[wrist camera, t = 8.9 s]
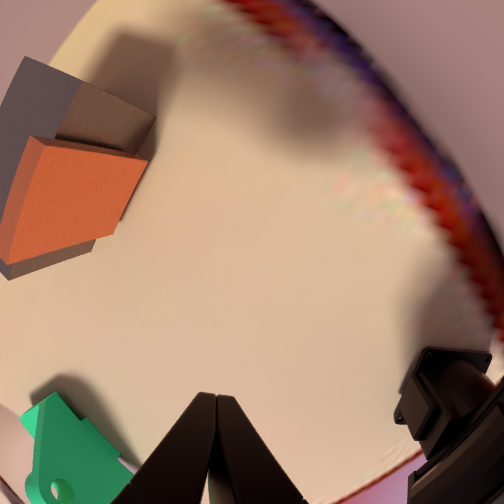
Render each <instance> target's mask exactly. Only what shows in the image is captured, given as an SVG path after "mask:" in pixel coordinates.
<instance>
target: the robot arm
mask: <svg viewBox="0 0 504 504" xmlns="http://www.w3.org/2000/svg"><path fill="white" fill-rule="evenodd" d="M429 352H431V353H430V355H429V356H426V355H427V354H428V353H429ZM486 357H487V358H486ZM485 358H486V359H485ZM491 360H492V355H491V354H490V353H489V352H488V351H476V350H463V349H451V348H441V347H430V346H429V347H426V348H424V349H423V350H422V352H421V355H420V357H419V360H418V363H417V365H416V368H415V370H414V373H413V374H412V375H411V376H410V378H409V381H408V383H407V386H406V388H405V390H404V392H403V395H402V397H401V399H400V401H399V404H398V405H399V407H398V409H397V411H396V413H395V415H394V421H395V423H396V424H400V425H407V426H408V428H409V430H410V433H411V435H412V438H413V439H414V441H419V443H420V445H421V448H422V450H423V453H424V455H425V457H426V460H428V461H427V462H426V463H425V464H424V465H423V466H421V467H420V468H419V469H418V470H417V471H414V472H413V473H411V474H410V475H409V476H408V497H407V504H504V376H503V377H502V379H501V382H500V384H499V385H498V386H497V387H496V386H495V384H494V383H493V382H492V381H491V380H490V379H489V378H488V377H487V376H486V375H485V374H486V372H487V369H488V367H489V365H490V362H491ZM400 417H402V418H400ZM399 418H400V419H399ZM207 473H208V489H209V500H210V504H309V503H308V502H307V501H306V500H305V499H303V496H302V494H301V493H300V492H299V490H298V489H297V488H296V486H295V485H294V484H293V482H292V481H291V480H290V478H289V477H288V476H287V474H286V473H285V471H284V470H283V469H282V467H281V466H280V464H279V463H278V462H277V460H276V459H275V457H274V456H273V455H272V453H271V452H270V450H269V449H268V447H267V446H266V444H265V443H264V441H263V440H262V439H261V437H260V436H259V434H258V433H257V431H256V430H255V428H254V427H253V425H252V424H251V422H250V421H249V419H248V417H247V416H246V414H245V413H244V411H243V410H242V408H241V407H240V405H239V404H238V402H237V400H236V399H235V398H234V397H233V396H228V395H220V394H219V395H217V396H216V395H215V394H213V393H206V392H199V393H198V394H197V395H196V396H195V398H194V399H193V400H192V402H191V403H190V404H189V406H188V407H187V408H186V410H185V411H184V412H183V413H182V415H181V416H180V417H179V419H178V420H177V421H176V423H175V424H174V425H173V427H172V428H171V429H170V430H169V432H168V433H167V434H166V436H165V437H164V438H163V439H162V441H161V442H160V443H159V445H158V446H157V447H156V448H155V450H154V451H153V452H152V453H151V455H150V456H149V457H148V459H147V460H146V461H145V462H144V464H143V465H142V466H141V467H140V469H139V470H138V471H137V472H136V474H135V475H134V476H133V477H132V478H131V480H130V481H129V482H130V483H127V484H126V486H125V487H124V488H123V489H122V490H121V492H120V493H119V494H118V495H117V496H116V497H115V499H114V500H113V501H112V502H111V503H110V504H201V501H202V496H203V492H204V488H205V483H206V478H207ZM302 499H303V500H302Z"/></svg>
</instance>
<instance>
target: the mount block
mask: <svg viewBox="0 0 504 504" xmlns="http://www.w3.org/2000/svg"><path fill="white" fill-rule="evenodd" d="M155 119H156V116H154V115H152V114H150V113H148V112H146V111H144V110H142V109H140V108H138V107H136V106H134V105H132V104H130V103H128V102H126V101H124V100H122V99H120V98H118V97H116V96H114V95H112V94H110V93H108V92H106V91H104V90H101V89H99V88H97V87H95V86H93V85H91V84H89V83H86V82H84V81H82V80H80V79H78V78H76V77H73V76H71V75H69V74H67V73H64V72H62V71H60V70H57V69H55V68H53V67H50V66H48V65H46V64H43V63H41V62H38V61H36V60H34V59H31V58H29V57H26V56H25V57H24V58H23V60H22V62H21V64H20V66H19V68H18V70H17V72H16V74H15V76H14V78H13V80H12V82H11V84H10V86H9V88H8V90H7V92H6V95H5V97H4V99H3V101H2V104H1V106H0V224H1V221H2V217H3V213H4V209H5V206H6V202H7V199H8V196H9V192H10V189H11V186H12V183H13V180H14V177H15V174H16V171H17V168H18V165H19V163H20V160H21V157H22V155H23V152H24V149H25V147H26V144H27V142H28V139H29V137H30V135H32V136H39V137H45V138H51V139H58V140H64V141H69V142H75V143H81V144H86V145H92V146H97V147H102V148H107V149H113V150H118V151H122V152H127V153H132V154H136V153H137V151H138V149H139V147H140V146H141V144H142V142H143V140H144V138H145V136H146V135H147V133H148V131H149V129H150V128H151V126H152V124H153V122H154V121H155ZM95 240H96V239H94V240H90V241H86V242H83V243H79V244H76V245H72V246H69V247H65V248H62V249H58V250H55V251H51V252H48V253H45V254H41V255H38V256H35V257H32V258H28V259H25V260H22V261H19V262H15V263H12V264H9V265H6V264H5V262H4V261H3V260H2V259H1V258H0V272H1V273H2V274H3V275H4V276H5V278H6V279H7V280H8V281H9V280H12V279H15V278H17V277H20V276H23V275H26V274H28V273H31V272H34V271H37V270H39V269H42V268H45V267H48V266H51V265H53V264H56V263H59V262H62V261H65V260H68V259H71V258H74V257H77V256H79V255H82V254H85V253H88V252H91V250H92V247H93V245H94V242H95Z"/></svg>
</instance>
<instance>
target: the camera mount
mask: <svg viewBox="0 0 504 504" xmlns="http://www.w3.org/2000/svg"><path fill="white" fill-rule="evenodd" d="M20 420H21V423H22V424H23V426H24V427H25V428H26V429H27V431H28V432H29V433H30V434H31V435H32V437H33V438H34V439H35V443H34V454H33V469H32V472H31V473H30V474H29V475H28V477H27V478H26V481H25V491H26V494H27V497H28V499H29V500H30V502H31V503H32V504H110V503H111V502H112V501H113V500H114V499H115V497H116V496H117V495H118V494H119V493H120V492H121V490H122V489H123V488H124V487H125V486H126V484H127V483H130V482H129V481H130V480H131V478H132V477H133V476H134V475H133V474H132V473H131V472H130V471H129V470H128V469H127V468H126V467H125V466H124V465H123V464H121V463H120V462H119V461H118V460H117V458H118V456H119V455H120V452H119V451H118V450H117V449H116V448H115V447H114V446H113V445H112V444H111V443H110V442H109V441H108V440H107V439H106V438H105V437H104V436H103V435H102V434H101V433H100V432H99V431H98V429H97V428H96V427H95V426H94V425H93V424H92V423H91V422H90V421H89V420H88V418H87V417H86V418H84V419H82V420H79V419H78V418H77V417H76V416H75V414H74V413H73V412H72V411H71V410H70V409H69V407H68V406H67V405H66V404H65V403H64V401H63V400H62V399H61V398H60V396H59V395H58V394H57V393H56V391H55V392H54V393H52V394H51V395H49V396H48V397H46V398H45V399H43V400H42V401H40V402H39V403H37V404H36V405H34V406H33V407H31V408H30V409H28V410H27V411H26V412H25V413H24V414H23V415H22V416H21V417H20ZM51 484H52V485H53V486H54V487H55V488H56V490H57V493H58V499H56V498H55V497H54V496H53V494H52V492H51Z"/></svg>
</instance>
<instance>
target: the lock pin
mask: <svg viewBox="0 0 504 504" xmlns="http://www.w3.org/2000/svg"><path fill="white" fill-rule="evenodd" d="M147 163H148V161H146V160H145V159H143V158H141V157H140V156H138V155H136V154H132V153H127V152H122V151H118V150H113V149H107V148H102V147H97V146H92V145H86V144H81V143H75V142H69V141H64V140H58V139H51V138H45V137H39V136H32V135H30V137H29V139H28V142H27V144H26V147H25V149H24V152H23V155H22V157H21V160H20V163H19V165H18V168H17V171H16V174H15V177H14V180H13V183H12V186H11V189H10V192H9V196H8V199H7V202H6V206H5V209H4V213H3V217H2V221H1V224H0V258H1V259H2V260H3V261H4V262H5V264H6V265H9V264H12V263H15V262H19V261H22V260H25V259H28V258H32V257H35V256H38V255H41V254H45V253H48V252H51V251H55V250H58V249H62V248H65V247H69V246H72V245H76V244H79V243H83V242H86V241H90V240H94V239H97V238H101V237H104V236H108V235H112V234H113V233H114V230H115V228H116V226H117V224H118V222H119V220H120V217H121V215H122V213H123V211H124V209H125V207H126V205H127V203H128V201H129V199H130V196H131V194H132V192H133V190H134V188H135V186H136V184H137V183H138V181H139V179H140V177H141V175H142V173H143V171H144V169H145V167H146V165H147Z"/></svg>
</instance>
